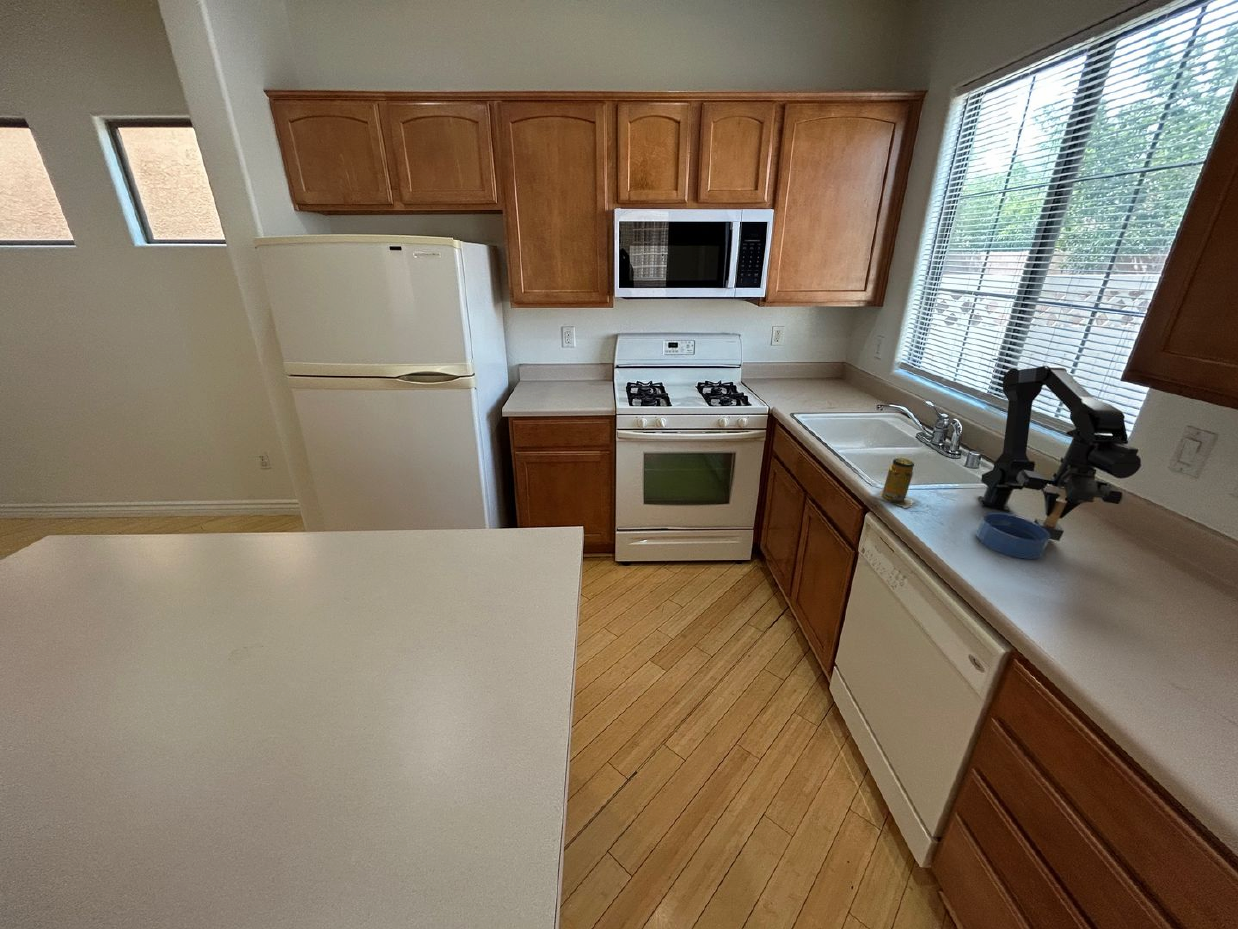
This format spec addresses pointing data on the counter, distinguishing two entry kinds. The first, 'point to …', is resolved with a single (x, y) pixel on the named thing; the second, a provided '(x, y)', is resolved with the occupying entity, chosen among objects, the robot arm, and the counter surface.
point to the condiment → (898, 483)
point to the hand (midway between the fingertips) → (1053, 516)
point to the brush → (1053, 520)
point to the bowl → (1013, 535)
